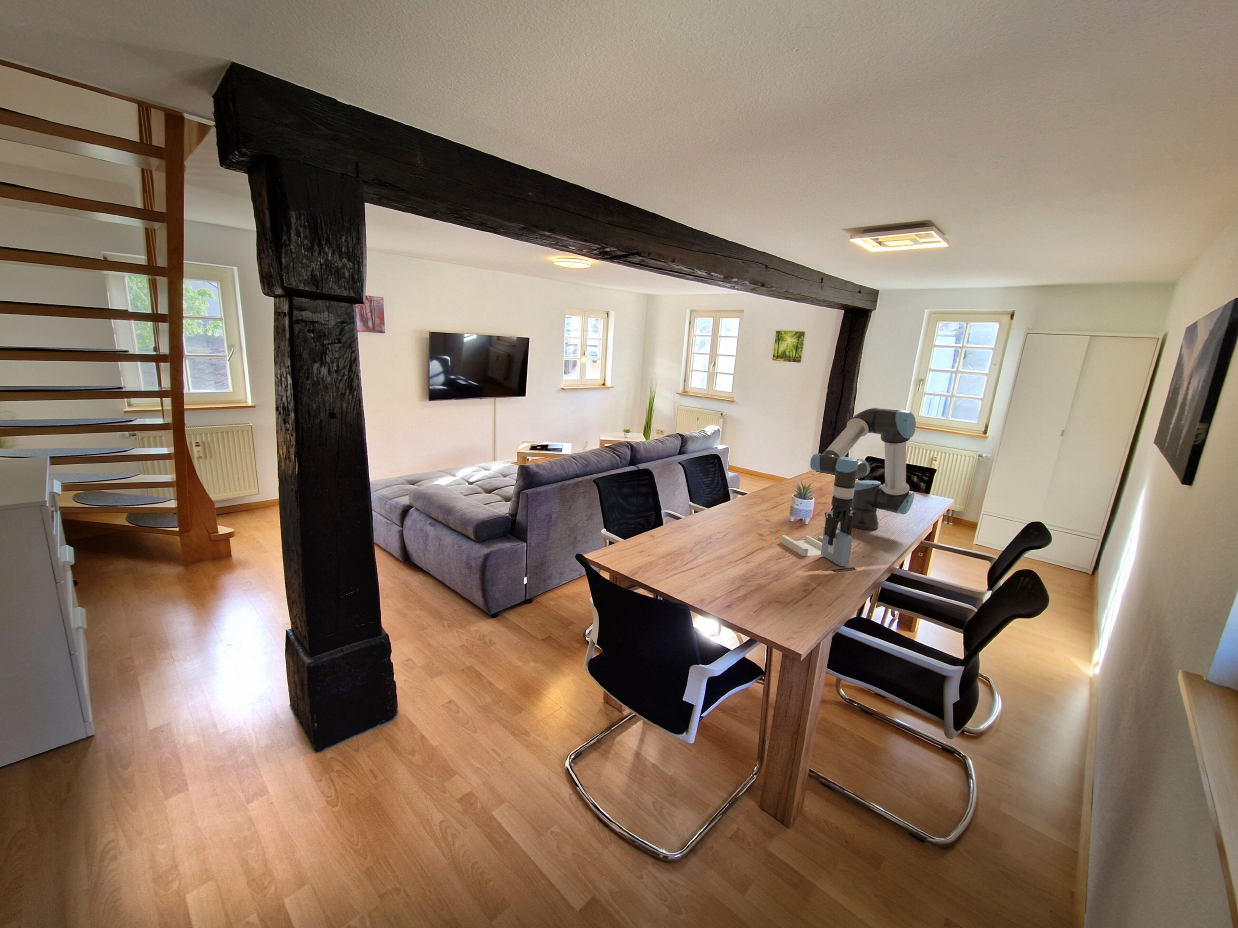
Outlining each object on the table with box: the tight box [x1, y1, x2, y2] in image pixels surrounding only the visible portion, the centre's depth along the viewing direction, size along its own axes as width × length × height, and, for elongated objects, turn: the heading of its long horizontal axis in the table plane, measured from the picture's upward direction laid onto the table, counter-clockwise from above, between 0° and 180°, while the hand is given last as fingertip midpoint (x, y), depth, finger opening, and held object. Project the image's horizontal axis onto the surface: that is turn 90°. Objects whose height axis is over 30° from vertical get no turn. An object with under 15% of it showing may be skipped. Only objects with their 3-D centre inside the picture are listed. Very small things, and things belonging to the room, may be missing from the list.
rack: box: [780, 531, 853, 557], centre depth 214 cm, size 24×16×4 cm, turn 106°
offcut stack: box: [812, 535, 823, 543], centre depth 216 cm, size 6×14×3 cm, turn 16°
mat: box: [831, 567, 857, 574], centre depth 199 cm, size 10×14×1 cm
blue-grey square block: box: [820, 526, 853, 567], centre depth 197 cm, size 4×12×12 cm, turn 16°
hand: (835, 551), depth 198 cm, fingers closed on blue-grey square block, 3 cm apart
